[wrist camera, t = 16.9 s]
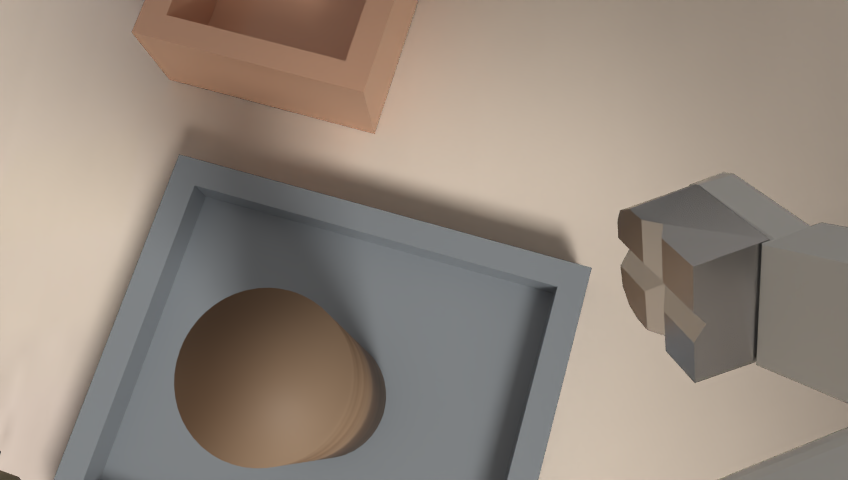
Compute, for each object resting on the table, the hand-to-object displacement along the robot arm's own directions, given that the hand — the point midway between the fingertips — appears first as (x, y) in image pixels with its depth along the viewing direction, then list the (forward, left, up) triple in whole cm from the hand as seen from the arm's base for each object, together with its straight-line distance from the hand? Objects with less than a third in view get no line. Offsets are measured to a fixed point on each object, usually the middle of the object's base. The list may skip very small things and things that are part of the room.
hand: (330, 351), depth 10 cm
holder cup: (+9, -15, -20) cm, 27 cm away
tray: (+3, 0, -20) cm, 21 cm away
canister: (+3, 0, -20) cm, 20 cm away
